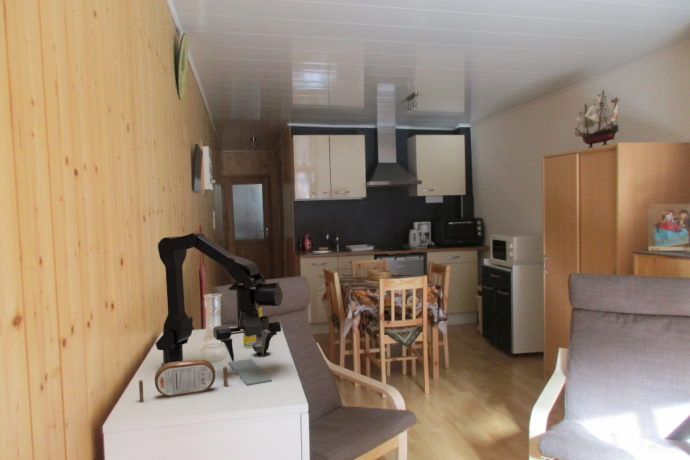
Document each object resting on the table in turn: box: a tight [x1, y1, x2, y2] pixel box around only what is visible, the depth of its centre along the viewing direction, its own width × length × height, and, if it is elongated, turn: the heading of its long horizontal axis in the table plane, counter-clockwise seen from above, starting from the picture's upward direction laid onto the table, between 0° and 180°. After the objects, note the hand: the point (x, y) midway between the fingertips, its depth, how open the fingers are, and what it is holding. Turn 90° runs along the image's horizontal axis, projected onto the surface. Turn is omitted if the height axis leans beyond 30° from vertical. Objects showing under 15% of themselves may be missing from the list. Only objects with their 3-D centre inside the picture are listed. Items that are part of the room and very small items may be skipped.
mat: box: [228, 358, 273, 387], centre depth 143 cm, size 22×7×1 cm, turn 26°
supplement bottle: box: [242, 333, 256, 349], centre depth 171 cm, size 5×5×10 cm
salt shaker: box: [252, 334, 271, 358], centre depth 160 cm, size 6×6×12 cm
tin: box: [154, 358, 216, 397], centre depth 127 cm, size 15×3×8 cm, turn 109°
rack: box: [138, 366, 229, 403], centre depth 127 cm, size 2×22×5 cm, turn 116°
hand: (248, 358), depth 143 cm, fingers open, 9 cm apart
